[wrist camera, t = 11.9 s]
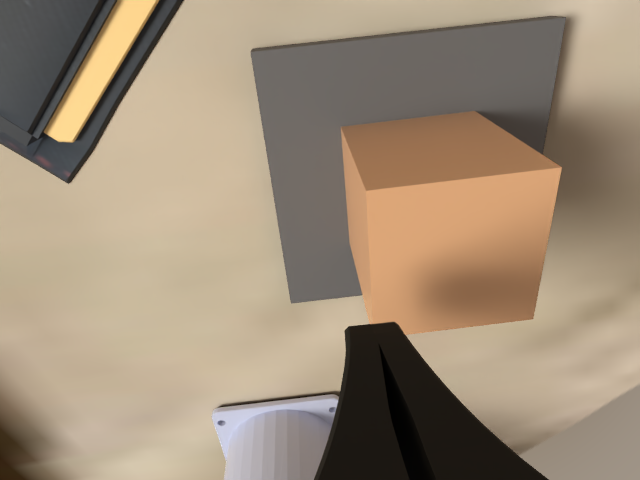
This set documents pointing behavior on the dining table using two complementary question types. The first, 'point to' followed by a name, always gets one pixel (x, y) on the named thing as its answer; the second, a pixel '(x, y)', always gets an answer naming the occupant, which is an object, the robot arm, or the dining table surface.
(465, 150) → the peach tan brick
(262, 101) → the post board
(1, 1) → the dark grey book
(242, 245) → the dining table surface
